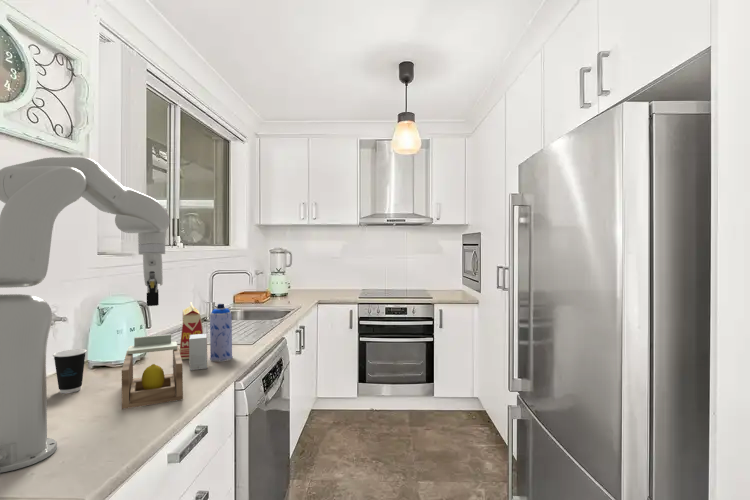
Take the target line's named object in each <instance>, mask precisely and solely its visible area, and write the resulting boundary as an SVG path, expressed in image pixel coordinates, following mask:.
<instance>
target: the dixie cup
mask: <svg viewBox="0 0 750 500" xmlns="http://www.w3.org/2000/svg"><path fill="white" fill-rule="evenodd" d="M87 351H88V350H87V349H84V348H74V349H66V350H65V349H64V350H61V351H56V352H54V353H53V354H52V356H53V357H54V359H53V360H54V366H55V374H56V378H57V379H56V380H57V385H58V390H59V393H60V394H71V393H75V392H76V393H77V392H78V391H81V388H82V385H83V377H84V369H85V360H86V353H87Z"/></svg>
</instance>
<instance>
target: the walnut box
mask: <svg viewBox="0 0 750 500" xmlns="http://www.w3.org/2000/svg"><path fill="white" fill-rule="evenodd" d="M179 349H180V346H179V345H178V344H177V349H175V350H172V369H173V370H172V373H167V374H165V373H164V376H165V378H164V383H163V385H162V387H161V388H155V389H148V390H145V389H144V388H143V386H142V377H136V378H135V377H134V354H128V350H126V353H125V357H124V360H123V363H122V368H121V410H126V409H131V408H138V407H139V408H140V407H142V406H143V407H144V406H150V405H156V404H157V405H158V404H164V403H169V401H171V402H177V401H182V400H181V399H184V390H183V389H184V386H183V384H184V381H183V377H184V376H183V359H181V355H180V351H179ZM176 400H177V401H176Z"/></svg>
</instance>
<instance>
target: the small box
mask: <svg viewBox="0 0 750 500" xmlns="http://www.w3.org/2000/svg"><path fill="white" fill-rule="evenodd" d="M188 363H189V364H188V365H189V371H196V370H205V369H208V335H207V333H203V334H195V335H190V338H189V359H188Z"/></svg>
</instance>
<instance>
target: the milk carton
mask: <svg viewBox="0 0 750 500" xmlns="http://www.w3.org/2000/svg"><path fill="white" fill-rule="evenodd" d="M200 313H201V312H200V311H199V309H197V308H196V307H195V306H194V305H193V302H192V301H190V305H189V306H187V307H186V308H184V309H182V325H181V334H180V342H179V351H180V355H181V359H182V360H189V338H190V335H195V334H204V328H203V322H202V317H201V314H200Z"/></svg>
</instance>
